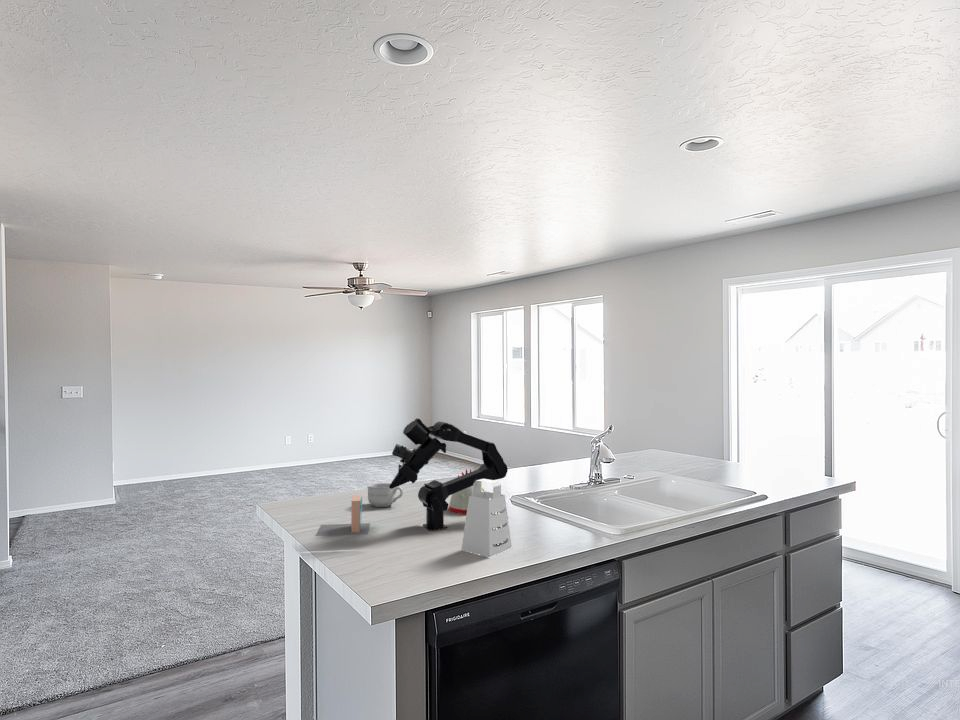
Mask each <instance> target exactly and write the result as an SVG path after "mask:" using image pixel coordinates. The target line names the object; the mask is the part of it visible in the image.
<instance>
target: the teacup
mask: <svg viewBox="0 0 960 720" xmlns="http://www.w3.org/2000/svg"><path fill="white" fill-rule="evenodd" d="M390 484H391V483H390V482H389V483H388V482H379V483H372V484H371V483H370V484H368V485H367V499H368V503H369V504H371V505H372V507H376V508H386V507H388V508H389V507H391V506H392V505H393V504H394V503H396V502H397V500H399V499H401V498H402V496H403V495H404V488H402V487H401V486H397V487H395V488H393V489H391V488H390V487H389V485H390ZM397 490H399V491H400V493H399V495H398V496H397Z"/></svg>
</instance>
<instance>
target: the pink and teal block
mask: <svg viewBox="0 0 960 720" xmlns="http://www.w3.org/2000/svg"><path fill="white" fill-rule="evenodd" d="M350 524H351V533H359V532H360V530H361V526H362V524H363V496H362V494H354V495H353V497H352V500H351V523H350Z"/></svg>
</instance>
